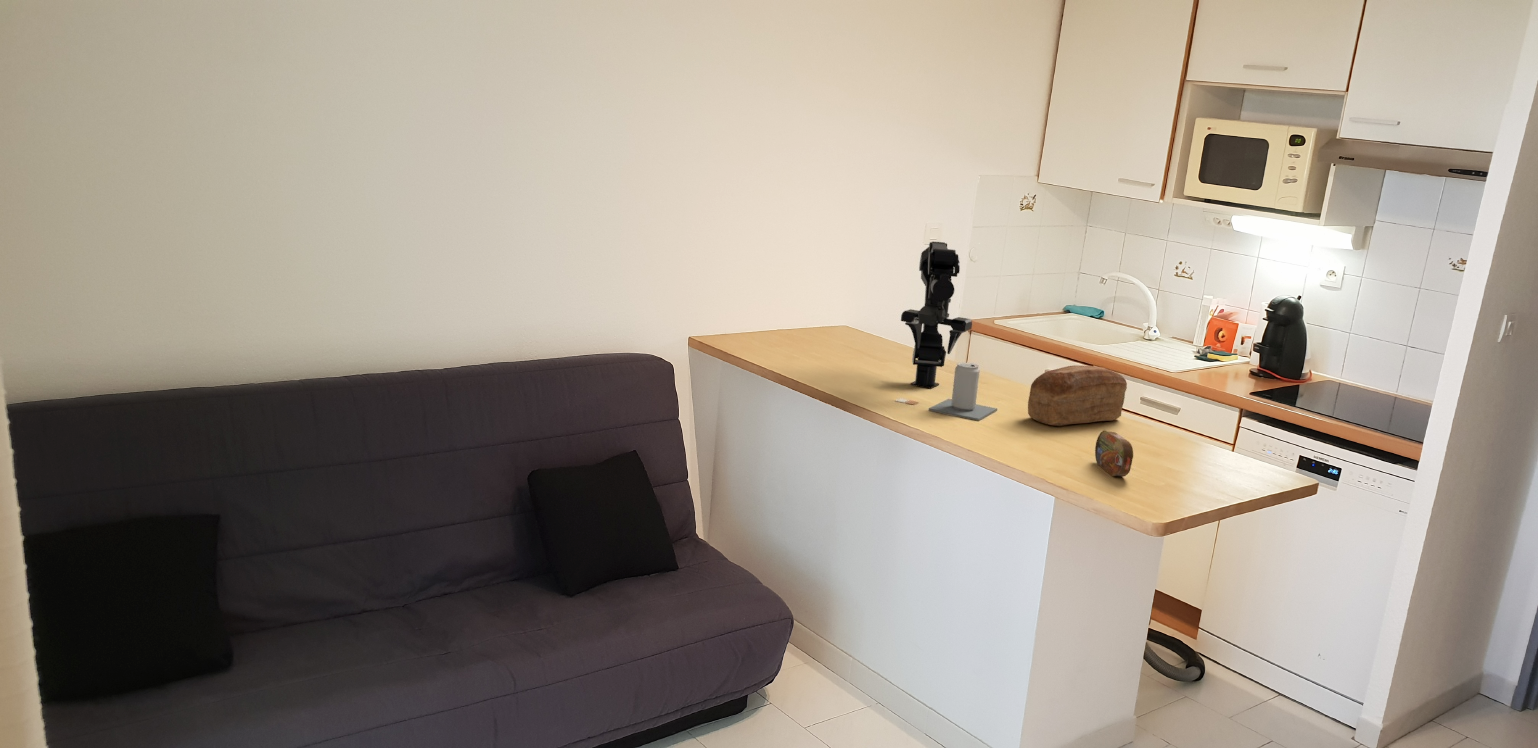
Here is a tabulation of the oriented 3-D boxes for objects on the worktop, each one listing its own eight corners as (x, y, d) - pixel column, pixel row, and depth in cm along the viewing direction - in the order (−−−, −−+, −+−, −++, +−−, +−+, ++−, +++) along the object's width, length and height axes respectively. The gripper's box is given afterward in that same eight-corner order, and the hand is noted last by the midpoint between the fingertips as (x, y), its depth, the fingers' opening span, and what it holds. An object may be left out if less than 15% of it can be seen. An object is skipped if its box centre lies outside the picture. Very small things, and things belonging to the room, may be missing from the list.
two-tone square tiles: (899, 398, 292) (899, 398, 291) (918, 402, 289) (918, 402, 289) (894, 401, 289) (895, 400, 289) (914, 405, 286) (914, 404, 286)
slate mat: (948, 400, 293) (948, 398, 293) (997, 410, 287) (997, 408, 286) (928, 410, 282) (928, 408, 281) (979, 421, 275) (979, 418, 275)
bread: (1128, 422, 285) (1137, 370, 282) (1051, 430, 271) (1059, 375, 268) (1095, 410, 295) (1102, 360, 292) (1019, 417, 281) (1026, 365, 278)
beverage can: (975, 412, 280) (980, 368, 278) (950, 409, 281) (955, 365, 279) (975, 406, 286) (980, 363, 284) (951, 404, 288) (956, 360, 285)
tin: (1092, 460, 248) (1097, 425, 246) (1105, 460, 249) (1110, 426, 247) (1117, 481, 234) (1123, 445, 232) (1131, 482, 234) (1137, 445, 232)
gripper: (895, 293, 287) (889, 349, 291) (960, 303, 278) (954, 361, 282) (912, 289, 297) (906, 343, 300) (975, 298, 288) (969, 355, 291)
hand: (933, 351), depth 293 cm, fingers open, 9 cm apart
